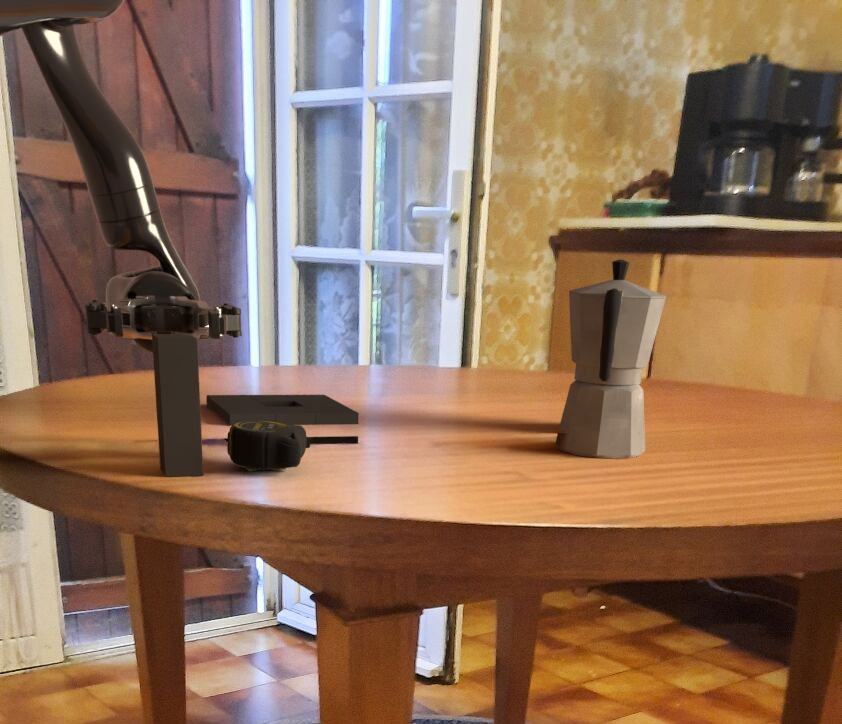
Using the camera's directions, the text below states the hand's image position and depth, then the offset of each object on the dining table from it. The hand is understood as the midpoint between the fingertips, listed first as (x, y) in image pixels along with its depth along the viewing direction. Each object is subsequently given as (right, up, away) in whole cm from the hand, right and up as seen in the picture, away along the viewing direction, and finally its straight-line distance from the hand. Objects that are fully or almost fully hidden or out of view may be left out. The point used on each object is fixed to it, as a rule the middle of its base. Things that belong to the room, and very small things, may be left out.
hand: (167, 325), depth 96 cm
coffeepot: (+41, -8, +14) cm, 44 cm away
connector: (+2, -14, -4) cm, 15 cm away
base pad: (+8, -5, +16) cm, 18 cm away
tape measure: (+10, -13, -1) cm, 17 cm away
